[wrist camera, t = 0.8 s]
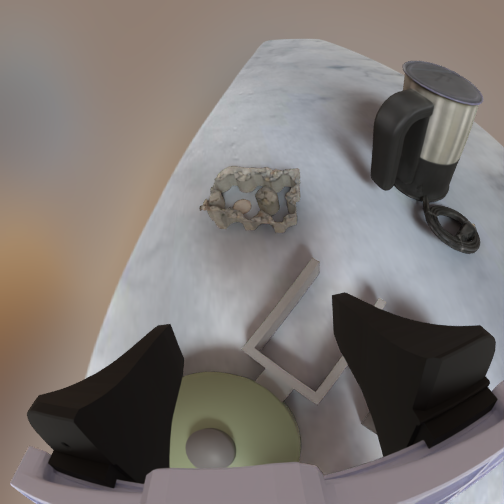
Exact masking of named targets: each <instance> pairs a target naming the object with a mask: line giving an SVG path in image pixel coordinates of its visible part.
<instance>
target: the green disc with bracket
mask: <svg viewBox="0 0 504 504" xmlns="http://www.w3.org/2000/svg"><path fill="white" fill-rule="evenodd" d="M319 266H320V262H319V261H317V260H316V259H314V258H312V259H311V260H310V261H309V263H308V264H307V266H306V267H305V268H304V270H303V271H302V272H301V274H300V275H299V276H298V278H297V279H296V280H295V282H294V283H293V284H292V286H291V287H290V288H289V290H288V291H287V292H286V293H285V295H284V296H283V297H282V299H281V300H280V301H279V303H278V304H277V305H276V306H275V308H274V309H273V310H272V312H271V313H270V314H269V315H268V317H267V318H266V319H265V320H264V322H263V323H262V324H261V325H260V327H259V328H258V329H257V330H256V332H255V333H254V334H253V335H252V337H251V338H250V339H249V340H248V342H247V343H246V344H245V345H244V346H243V348H242V349H241V350H243V351H244V352H245V353H246V354H248V355H249V356H250V357H252V358H253V359H254V360H255V361H257V362H258V363H259V364H261V365H262V366H263V367H265V370H264V371H263V372H262V373H261V374H260V376H259V377H258V378H257V379H256V380H255V381H254V380H251V379H248V378H246V377H242V376H237V375H233V374H228V373H221V372H201V373H194V374H190V375H186V376H184V377H182V382H181V386H180V390H179V394H178V398H177V402H176V406H175V410H174V414H173V420H172V427H171V438H170V468H230V467H244V466H255V465H263V464H271V463H287V462H299V458H300V450H301V438H300V433H299V428H298V425H297V422H296V420H295V418H294V416H293V414H292V412H291V411H290V409H289V408H288V406H287V405H286V404H285V403H284V400H285V399H286V398H287V397H288V396H289V394H290V393H291V392H292V391H293V390H294V389H295V390H296V391H297V392H299V393H300V394H302V395H303V396H305V397H306V398H308V399H309V400H310V401H312V402H313V403H315V404H316V405H318V404H319V403H320V401H321V400H322V399H323V398H324V396H325V395H326V394H327V392H328V391H329V390H330V388H331V387H332V386H333V384H334V383H335V382H336V380H337V379H338V378H339V376H340V375H341V374H342V372H343V371H344V369H345V368H346V366H347V365H348V364H347V362H346V360H345V359H344V357H343V355H342V356H341V358H340V359H339V360H338V362H337V363H336V365H335V366H334V367H333V369H332V370H331V372H330V373H329V374H328V376H327V377H326V378H325V380H324V381H323V382H322V384H321V385H320V386H319V388H318V389H317V390H316V391H314V390H312V389H311V388H309V387H308V386H306V385H305V384H303V383H302V382H301V381H299V380H298V379H296V378H295V377H293V376H292V375H291V374H289V373H288V372H286V371H285V370H284V369H282V368H281V367H280V366H278V365H277V364H275V363H274V362H273V361H271V360H270V359H269V358H267V357H266V356H265V355H263V354H262V353H261V352H260V351H261V349H262V348H263V347H264V346H265V344H266V343H267V342H268V341H269V339H270V338H271V337H272V336H273V334H274V333H275V332H276V330H277V329H278V328H279V327H280V325H281V324H282V323H283V321H284V320H285V319H286V317H287V316H288V315H289V314H290V312H291V311H292V310H293V308H294V307H295V306H296V304H297V303H298V302H299V300H300V299H301V298H302V296H303V295H304V293H305V292H306V291H307V289H308V288H309V287H310V285H311V284H312V282H313V281H314V280H315V278H316V277H317V275H318V274H319ZM385 304H386V302H385V301H384V300H382V299H380V298H379V299H378V300H377V302H376V303H375V305H374V306H375V307H377V308H379V309H382V310H383V308H384V306H385Z"/></svg>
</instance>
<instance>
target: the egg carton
mask: <svg viewBox="0 0 504 504" xmlns="http://www.w3.org/2000/svg"><path fill="white" fill-rule="evenodd" d="M299 185H300V172H299V169H298V168H297V169H289V170H283V171H279V170H277V169H275V170H271V169H269V168H268V167H265V168H242V167H236V166H231V167H228V168H226V169H224V170H223V171H221V172H220V173H219V174H218V176H217V178H216V179H215V183H214V185H213V187H211V196H210V198H209V201H207V199H205V201H204V203H203V206H200V211H201V210H202V209H203V210H207V212H208V214H209V216H210V217H211V219H212V221H215V223H216V225H217V226H218V228H220V229H227V228H228V226H229V225H231V224H232V223H235V222H241V223H242V224H244V227H245V230H255V229H256V228H257V227H258V226H259V225H261V224H270V225H272V226H273V227H274V230H275V232H277V233H284V232H285V230H286V229H287V228H288V227H290V226H293V225H296V224H297V215H296V202H299V201H300V188H299ZM232 186H238V187H239V189H240V191H241V192H244V193H248V192H252V191H253V190H255V188H256V187H257V186H263V187H262V188H261V189H259V190H258V191H257V193H256V194H255V197H256V200H257V202H258V205H259V208H260V211H259V212H258V214H257V215H256V216H254V217H253V218H252V219H251V220H248V219H246V218H244V216H243V214H245V213H247V212H248V211H249V210H250V209H251V203H250V202H249V201H248V200H245V199H241V200H238V201H237V202H236V203H235V204H234V206H233V209H231V207H229V208H227V209H224V208H225V201H224V199H223V197H222V194H221V193H223V192H226V191H228V190H229V189H230V188H231V187H232ZM284 187H291V190H290V192H288V193H286V196H285V198H286V200H287V205H288V212H289V214H287V215H286V216H285V217H283V222H274V220H273V219H272V217H271V216H272V215H274V214H276V213H277V212H278V210H279V202H278V196H277V193H278V192H280V191H281V190H282V189H283V188H284Z"/></svg>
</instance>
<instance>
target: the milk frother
mask: <svg viewBox="0 0 504 504" xmlns="http://www.w3.org/2000/svg"><path fill="white" fill-rule="evenodd" d="M403 71H404V72H405V78H404V86H403V91H401V92H397V93H395V94H393V95H392V96H390V97H389V98H388V99H387V100H386V101H385V102H384V103H383V104H382V106H381V107H380V109H379V111H378V113H377V115H376V118H375V122H374V133H373V150H372V163H371V178H372V180H373V181H374V182H375V183H376V184H377V185H378V186H379V187H380V188H381V189H383V190H390V189H391V188H392V187H393V185H395V186H396V187H397V188H398V189H399V190H400V191H401V192H403V193H404V194H406V195H407V196H409V197H411V198H413V199H416V200H419V201H423V207H424V213H425V218H426V221H427V223H428V225H429V227H430V228H431V230H432V231H433V232H434V234H435V235H436V236H437V237H438V238H439V239H440V240H441V241H443V242H444V243H445V244H447V245H448V246H450V247H451V248H453V249H455V250H457V251H460V252H463V253H467V254H471V253H475V252H476V251H477V249H478V248H479V246H480V238H479V235H478V233H477V230H476V227H475V224H471V222H469V221H468V219H466V218H465V217H464V216H463V215H462V214H460V213H459V212H457V211H456V210H453V209H451V208H448V207H444V206H433V207H432V208H429V202H436V201H438V200H441V199H443V198H444V197H445V196H446V194H447V193H448V191H449V184H450V181H451V179H452V176H453V174H454V171H455V169H456V166H457V164H458V161H459V159H460V156H461V154H462V151H463V149H464V146H465V144H466V141H467V138H468V136H469V133H470V130H471V127H472V124H473V121H474V118H475V115H476V112H477V109H478V105H479V104H481V103H482V102H483V96H482V94H481V93H480V91H479V90H478V89H477V88H476V87H475V86H474V85H473V84H472V83H471V82H470V81H468V80H467V79H465V78H464V77H462V76H460V75H459V74H457V73H456V72H454V71H451V70H449V69H447V68H445V67H442V66H439V65H436V64H433V63H429V62H423V61H408V62H406V63H404V64H403ZM439 215H444V216H448V217H451V218H453V219H455V220H457V221H458V222H460V223H461V224H462V226H461V228H460V230H459V231H458V233H457V234H456V235H455V237H454V236H453V235H451V234H450V233H449V232H447V231H446V230H445V229H443V227H442V226H441V224H440V223H439V221H438V218H437V216H439ZM471 240H472V241H471Z"/></svg>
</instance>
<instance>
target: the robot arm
mask: <svg viewBox="0 0 504 504" xmlns="http://www.w3.org/2000/svg"><path fill="white" fill-rule="evenodd" d="M332 307H333V327H334V335H335V338H336V341H337V344H338V346H339V349H340V351H341V353H342V355H343V357H344V359H345V360H346V362H347V364H348V366H349V368H350V369H351V371H352V373H353V375H354V377H355V379H356V380H357V382H358V384H359V386H360V388H361V390H362V392H363V395H364V397H365V400H366V403H367V405H368V408H369V411H370V414H371V416H372V419H373V422H374V425H375V429H376V432H377V435H378V439H379V442H380V446H381V450H382V454H383V457H382V458H380V459H377V460H374V461H371V462H368V463H366V464H362V465H359V466H356V467H353V468H350V469H346V470H343V471H339V472H335V473H331V474H327V475H323V473H322V472H321V471H320V469H319V468H318V467H317V466H314V465H311V464H305V463H300V462H287V463H271V464H263V465H255V466H244V467H230V468H170V438H171V427H172V420H173V414H174V410H175V406H176V402H177V398H178V394H179V390H180V386H181V382H182V377H183V367H184V357H183V355H182V353H181V350H180V348H179V345H178V343H177V340H176V337H175V335H174V332H173V330H172V327H171V324H167V325H159V326H157V327H155V328H154V329H153V330H152V331H150V332H149V333H148V334H147V335H146V336H144V337H143V338H142V339H141V340H140V341H139V342H138V343H136V344H135V345H134V346H133V347H132V348H131V349H129V350H128V351H127V352H126V353H124V354H123V355H122V356H121V357H119V358H118V359H117V360H116V361H114V362H113V363H111V364H110V365H109V366H107V367H105V368H104V369H102V370H101V371H99V372H97V373H96V374H94V375H92V376H90V377H88V378H86V379H84V380H82V381H80V382H78V383H76V384H74V385H71V386H69V387H66V388H63V389H61V390H57V391H54V392H50V393H46V394H43V395H39V396H38V397H37V399H36V400H35V401H34V403H33V404H32V406H31V407H30V409H29V410H28V412H27V416H28V420H29V422H30V424H31V426H32V427H33V428H34V429H35V431H36V432H37V433H38V434H39V435H40V436H41V437H42V439H43V440H44V441H45V442H46V443H47V444H48V445H49V446H50V447H51V448H52V449H53V450H54V451H53V453H52V455H50V454H49V453H47V452H45V451H43V450H41V449H38V448H35V447H33V446H29V447H28V449H27V451H26V452H25V454H24V456H23V458H22V460H21V462H20V464H19V466H18V468H17V470H16V472H15V474H14V476H13V478H12V480H11V483H10V484H11V486H13V487H14V488H15V489H16V490H18V491H19V492H20V493H22V494H23V495H24V496H26V497H27V498H28V499H30V500H31V501H33V502H34V503H36V504H445V503H446V502H448V501H450V500H451V499H453V498H454V497H456V496H457V495H459V494H460V493H462V492H463V491H465V490H466V489H468V488H469V487H470V486H472V485H473V484H475V483H476V482H477V481H479V480H480V479H481V478H483V477H484V476H485V475H486V474H488V473H489V472H490V471H491V470H493V469H494V468H495V467H496V466H498V465H499V464H500V463H501V462H502V461H503V460H504V380H503V381H502V382H501V383H499V384H498V385H497V386H496V387H495V388H494V389H493V391H492V392H491V390H490V389H489V388H488V386H489V384H490V381H489V380H488V379H487V378H486V377H485V376H486V373H487V371H488V369H489V366H490V364H491V361H492V359H493V356H494V352H495V344H496V342H495V339H494V337H493V336H492V335H491V334H490V333H488V332H487V331H486V330H485V329H484V328H483V327H482V326H480V325H479V326H445V325H435V324H429V323H423V322H418V321H414V320H410V319H407V318H403V317H400V316H397V315H394V314H392V313H389V312H386V311H384V310H382V309H379V308H377V307H375V306H373V305H370V304H368V303H366V302H364V301H362V300H360V299H358V298H356V297H354V296H352V295H350V294H348V293H345V292H344V293H340V294H336V295H332Z"/></svg>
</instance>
